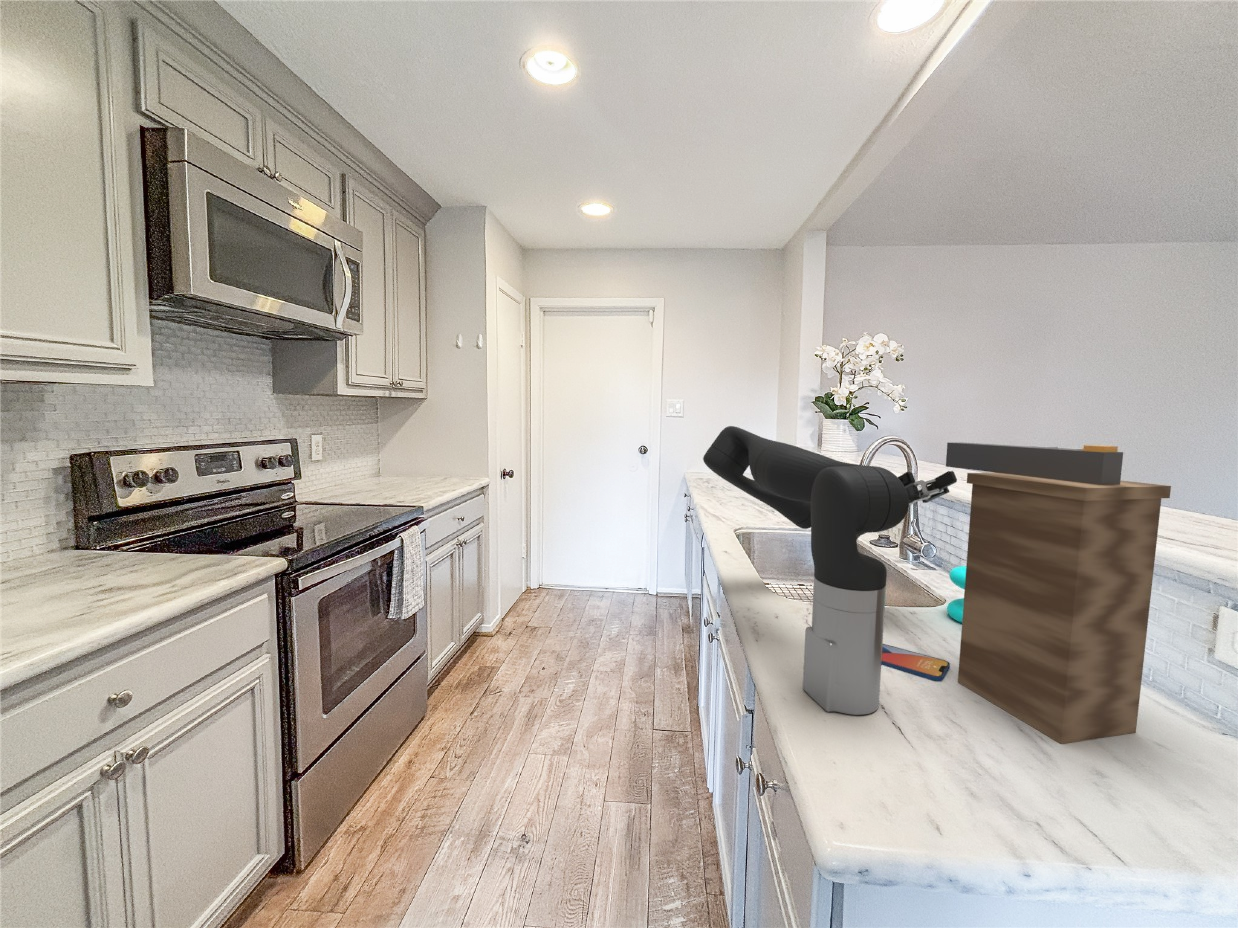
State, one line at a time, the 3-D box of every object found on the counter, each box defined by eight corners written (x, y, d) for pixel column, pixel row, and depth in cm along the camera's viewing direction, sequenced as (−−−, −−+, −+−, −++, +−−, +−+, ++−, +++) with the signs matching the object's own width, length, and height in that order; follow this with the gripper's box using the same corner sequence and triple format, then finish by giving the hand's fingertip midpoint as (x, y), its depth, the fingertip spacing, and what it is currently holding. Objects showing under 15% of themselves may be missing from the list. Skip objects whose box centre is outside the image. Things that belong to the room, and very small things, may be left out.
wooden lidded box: (1061, 746, 63) (1086, 488, 60) (952, 680, 78) (967, 472, 75) (1143, 734, 65) (1171, 485, 62) (1021, 672, 81) (1039, 471, 78)
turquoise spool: (1011, 583, 94) (946, 572, 100) (1006, 635, 95) (943, 621, 101) (1012, 570, 102) (953, 561, 108) (1008, 619, 102) (949, 607, 109)
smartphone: (854, 641, 93) (854, 635, 93) (951, 667, 83) (951, 661, 83) (839, 654, 88) (839, 648, 88) (940, 685, 78) (940, 678, 77)
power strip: (1100, 484, 63) (1104, 446, 62) (945, 466, 85) (947, 438, 85) (1120, 484, 63) (1123, 446, 63) (960, 466, 86) (962, 438, 85)
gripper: (839, 491, 104) (891, 457, 89) (899, 490, 107) (959, 456, 92) (849, 527, 101) (905, 497, 86) (911, 524, 104) (975, 495, 89)
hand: (933, 476), depth 89 cm, fingers open, 8 cm apart
